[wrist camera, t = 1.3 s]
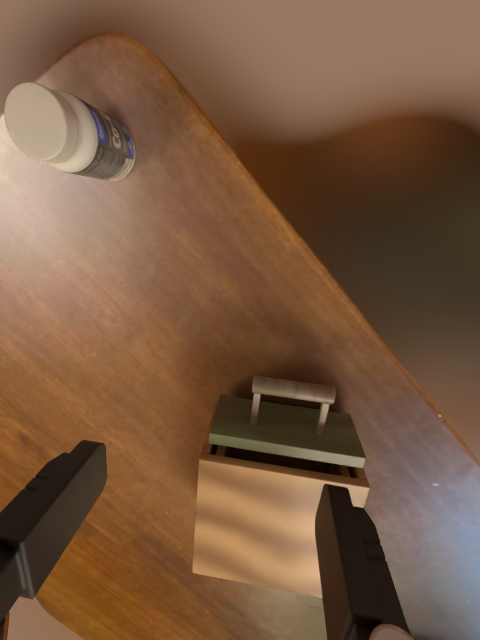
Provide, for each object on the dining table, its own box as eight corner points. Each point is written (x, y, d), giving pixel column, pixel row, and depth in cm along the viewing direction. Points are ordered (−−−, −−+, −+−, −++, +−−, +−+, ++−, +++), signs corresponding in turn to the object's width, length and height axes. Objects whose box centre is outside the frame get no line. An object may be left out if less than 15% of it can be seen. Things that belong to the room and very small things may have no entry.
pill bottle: (148, 151, 25) (89, 123, 17) (114, 193, 26) (46, 185, 18) (105, 103, 24) (22, 51, 16) (73, 149, 26) (-18, 122, 18)
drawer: (224, 352, 29) (212, 384, 24) (362, 371, 28) (382, 409, 23) (212, 494, 36) (201, 544, 31) (323, 513, 35) (331, 568, 30)
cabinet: (215, 405, 33) (198, 459, 26) (349, 426, 32) (370, 487, 25) (207, 506, 38) (192, 572, 31) (321, 526, 37) (332, 600, 30)
